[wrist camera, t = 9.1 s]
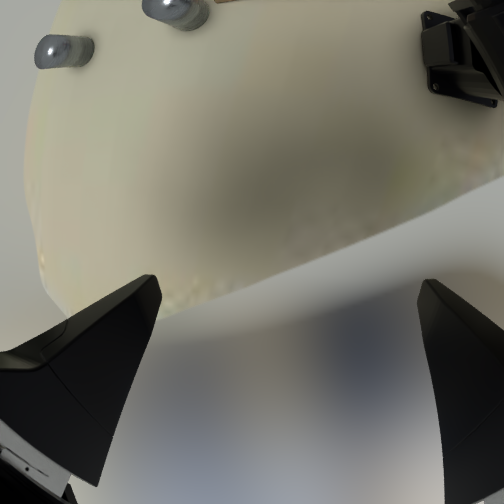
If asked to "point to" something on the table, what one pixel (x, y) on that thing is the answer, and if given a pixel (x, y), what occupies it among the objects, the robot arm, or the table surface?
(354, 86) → the table surface
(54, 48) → the posts
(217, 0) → the wooden pad
